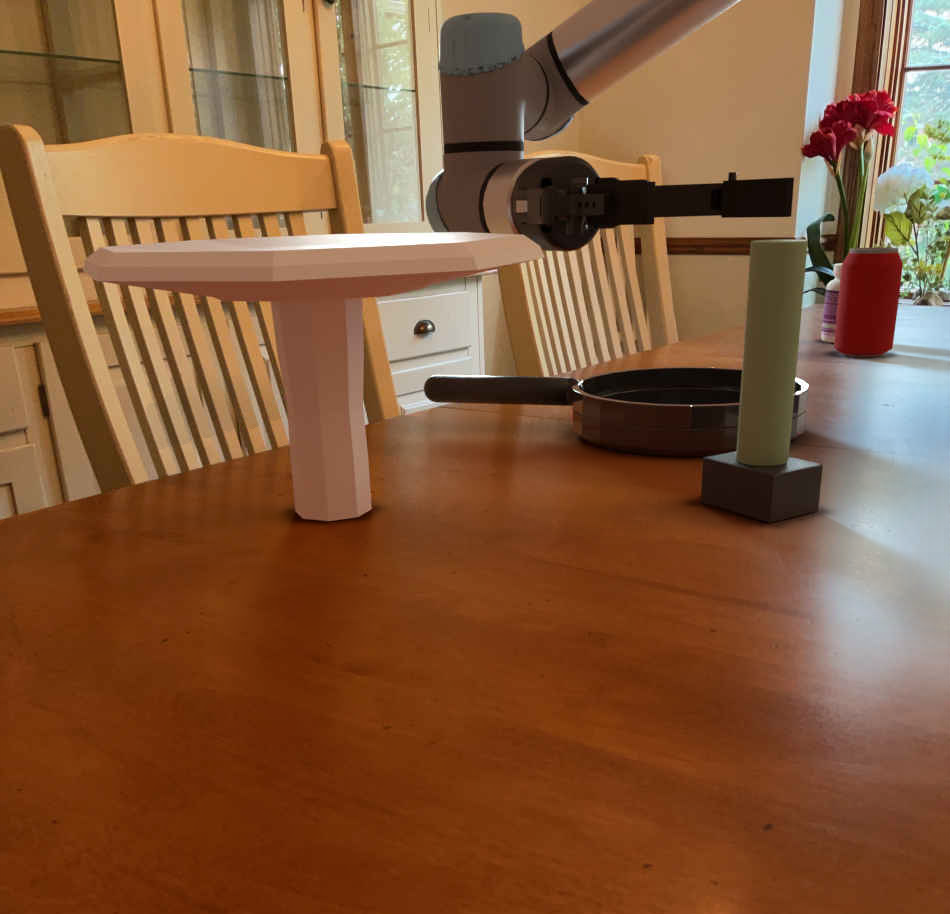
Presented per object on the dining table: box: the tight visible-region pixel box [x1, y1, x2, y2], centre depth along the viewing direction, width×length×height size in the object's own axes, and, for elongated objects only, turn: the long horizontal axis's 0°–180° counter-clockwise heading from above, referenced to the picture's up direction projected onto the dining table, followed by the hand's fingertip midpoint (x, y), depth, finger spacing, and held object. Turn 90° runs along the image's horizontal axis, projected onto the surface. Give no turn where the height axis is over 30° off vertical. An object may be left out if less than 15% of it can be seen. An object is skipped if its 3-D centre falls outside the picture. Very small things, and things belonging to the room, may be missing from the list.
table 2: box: [82, 232, 546, 522], centre depth 66 cm, size 28×28×17 cm
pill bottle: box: [820, 262, 843, 344], centre depth 135 cm, size 5×5×10 cm
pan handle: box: [423, 374, 583, 407], centre depth 91 cm, size 14×2×2 cm, turn 73°
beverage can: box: [833, 246, 904, 358], centre depth 124 cm, size 7×7×12 cm
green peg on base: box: [700, 238, 824, 524], centre depth 64 cm, size 6×4×16 cm
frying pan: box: [570, 366, 809, 457], centre depth 87 cm, size 19×19×4 cm
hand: (723, 200), depth 74 cm, fingers open, 13 cm apart
